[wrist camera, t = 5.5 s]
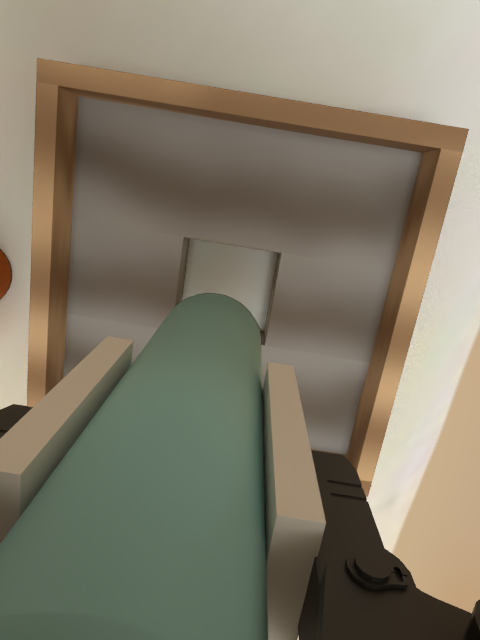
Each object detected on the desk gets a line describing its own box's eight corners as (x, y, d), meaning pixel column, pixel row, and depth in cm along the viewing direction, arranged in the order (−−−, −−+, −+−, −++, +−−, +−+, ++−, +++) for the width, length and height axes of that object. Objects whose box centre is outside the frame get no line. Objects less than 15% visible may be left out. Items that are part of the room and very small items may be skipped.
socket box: (78, 82, 26) (37, 58, 21) (429, 140, 26) (468, 129, 21) (61, 403, 31) (25, 442, 26) (350, 449, 31) (367, 496, 27)
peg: (166, 285, 18) (-123, 581, 4) (268, 302, 18) (306, 649, 4) (156, 380, 19) (-104, 857, 5) (252, 395, 19) (239, 909, 5)
